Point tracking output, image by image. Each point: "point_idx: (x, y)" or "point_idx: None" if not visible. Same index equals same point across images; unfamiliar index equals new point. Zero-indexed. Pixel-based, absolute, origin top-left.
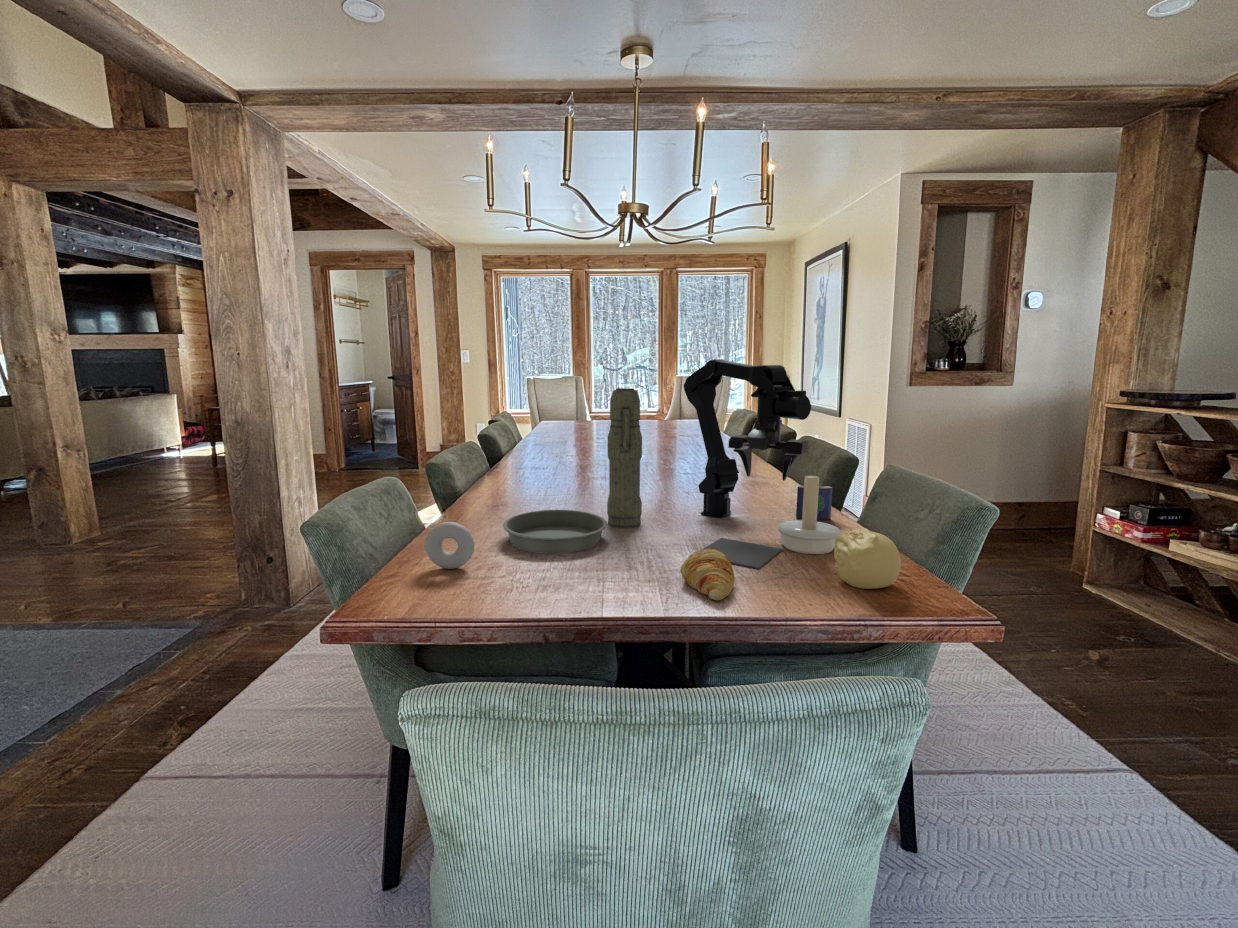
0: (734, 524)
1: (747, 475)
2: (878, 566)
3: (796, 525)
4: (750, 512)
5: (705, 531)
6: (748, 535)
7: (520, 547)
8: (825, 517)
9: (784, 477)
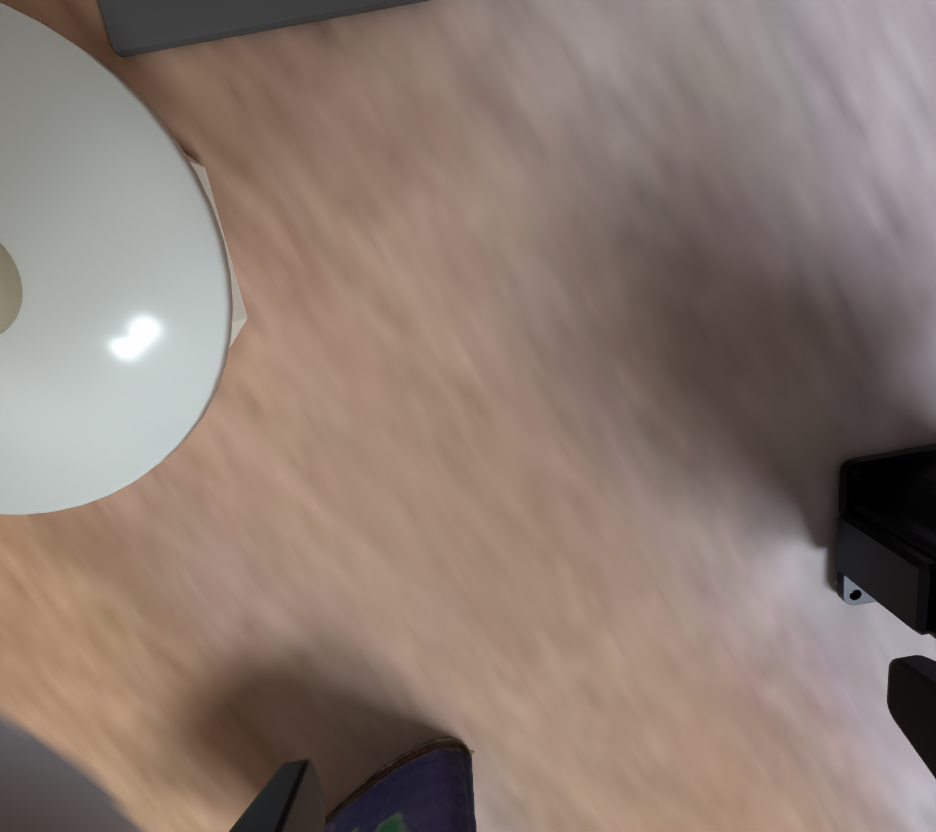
0: (702, 394)
1: (922, 660)
2: None
3: (82, 285)
4: (742, 688)
5: (793, 81)
6: (498, 224)
7: None
8: (326, 830)
9: (253, 802)
